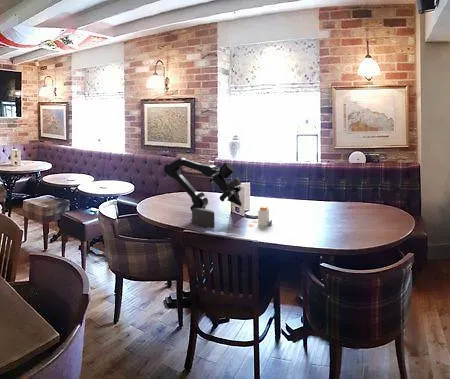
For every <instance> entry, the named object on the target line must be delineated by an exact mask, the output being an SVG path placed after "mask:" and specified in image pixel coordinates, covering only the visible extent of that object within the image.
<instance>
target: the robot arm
mask: <svg viewBox="0 0 450 379" xmlns="http://www.w3.org/2000/svg"><path fill="white" fill-rule="evenodd" d="M182 167H185V168H188V169H192V170H195V171H198V172H199V173H201V174H202V175H203V176H205V177H207V178H208V177H210V178H209V184H212V183H213V184H215V186H217V188H218V189H217V190H219V192H220V191H221V192H222V193H221V195H220V196H219V200H220V201H221V203H223V202H225V200H226V201H228V202H231V203H233V204H235V205H237V206H240V207H241V206H242V204H243V203H242V202H241V199H240V197H239V192H241V190H243V188H242V187H241V185H242V183H241V182H242V180H241V179H240V178H239V177H237V178H234V179H233V181H230V180H229V181H228V180H227V179H228V178H229V179H230V177H231V175H232V174H234V172H235V171H236V169H235V167H234V166H233V165H231V164H230V163H228V162H224V163H223V165H222V166H221V167H217V165H214V164H207V163H206V164H205V163H200V162H196V161H194V160H191V159H187V158H185V157H180V158H178V159H177V160H175V161H172V162H171V163H168V164H165V165H164V166H163V172H164V173H165V175H167V176H168V177H170V178H172V179H174V180H175V181H176V182H177V184H179V186H180V187H181V188H182V189H183V190H184V192H186V193H187V195H188V196H189V197H190V199H191V202H192V205H191V206H190V208H189V209H190V211H191V212H192V209H193V208H203V209H206V207H207V206H208V205H209V199H208V196H207V195H205V193H204V192H203V191H202V192H201V191H200V192H198V191H197V189H195V187H194V186H193V185H192V184H191V183H190V182H189V180H187V178H186V177H184V175H183V174H182V172H181V168H182ZM212 176H213V177H212ZM190 220H191V221H192V218H190Z"/></svg>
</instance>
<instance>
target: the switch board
mask: <svg viewBox="0 0 450 379" xmlns="http://www.w3.org/2000/svg"><path fill="white" fill-rule="evenodd" d="M272 222H273V220H272V219H270V220H269V224H268V227H271V225H273V223H272ZM252 223H256V224H258V220H253V221H252ZM254 226H255V224H247V227H254ZM264 227H265V226H261V225H257V228H264Z"/></svg>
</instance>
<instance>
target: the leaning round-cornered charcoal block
mask: <svg viewBox="0 0 450 379" xmlns="http://www.w3.org/2000/svg"><path fill="white" fill-rule="evenodd" d="M191 219H192V220H191V224H192V225H194V226H197V227H201V228H205V229H207V228H214V229H215V212H214V211H213V210H211V209H208V208H205V209H203V208H193V209H192V211H191Z"/></svg>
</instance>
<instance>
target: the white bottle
mask: <svg viewBox="0 0 450 379" xmlns="http://www.w3.org/2000/svg"><path fill="white" fill-rule="evenodd" d="M257 212H258V214H257V215H258V216H257V217H258V218H257V221H258V223H257V226H259V225H260V226H264V227H267V226H269V221H270V209H268V206H265V205H264V206H260V207H259V209H258V210H257Z"/></svg>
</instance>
